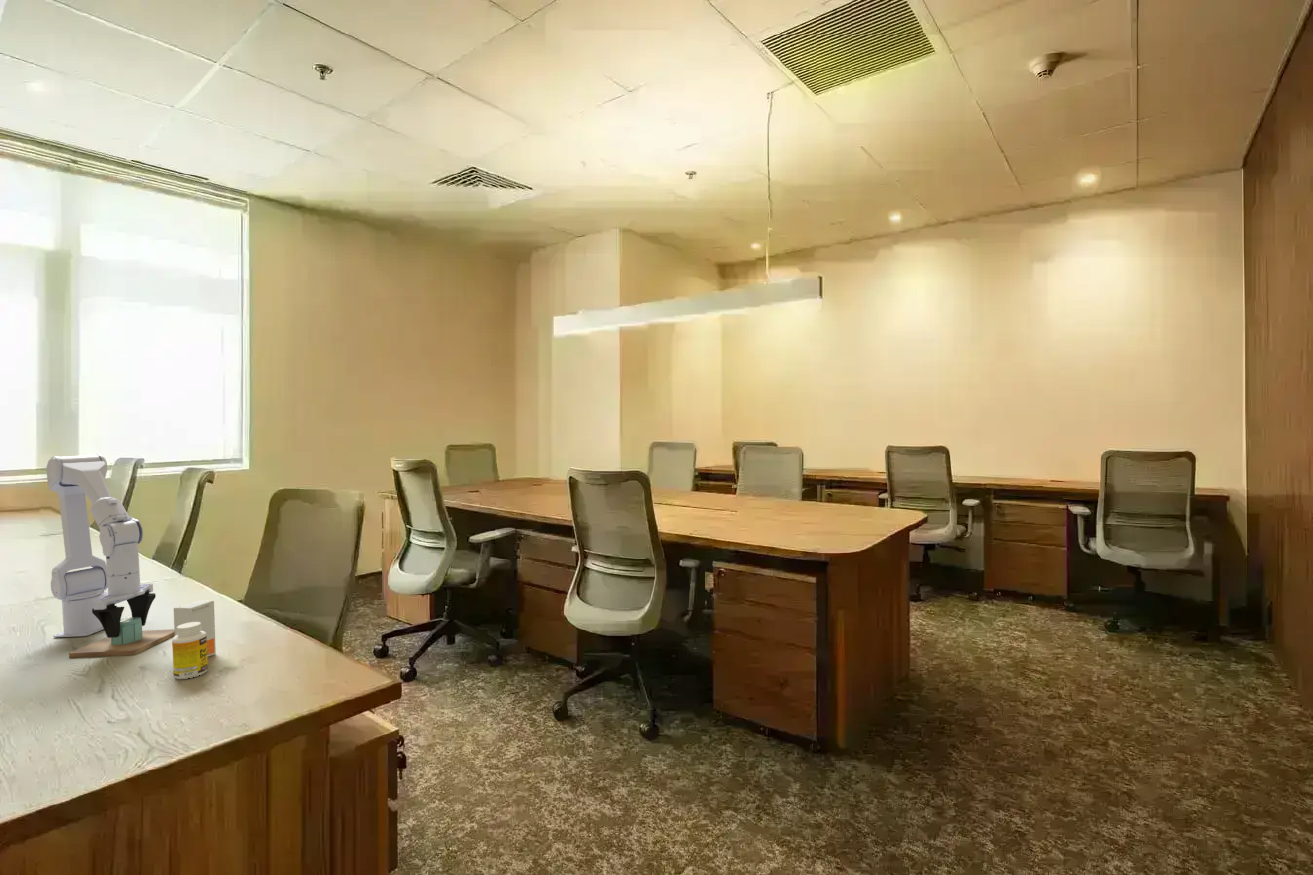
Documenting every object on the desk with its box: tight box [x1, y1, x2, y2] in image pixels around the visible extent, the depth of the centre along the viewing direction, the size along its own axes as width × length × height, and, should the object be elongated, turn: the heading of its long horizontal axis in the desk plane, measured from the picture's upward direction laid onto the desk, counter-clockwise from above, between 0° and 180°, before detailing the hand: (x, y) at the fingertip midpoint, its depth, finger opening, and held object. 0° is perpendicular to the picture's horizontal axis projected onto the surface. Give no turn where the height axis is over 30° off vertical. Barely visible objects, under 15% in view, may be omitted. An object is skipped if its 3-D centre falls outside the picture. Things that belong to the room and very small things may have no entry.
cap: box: [111, 616, 143, 645], centre depth 144 cm, size 5×5×5 cm
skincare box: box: [173, 599, 217, 658], centre depth 134 cm, size 6×4×12 cm
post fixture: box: [68, 628, 175, 659], centre depth 144 cm, size 14×14×4 cm
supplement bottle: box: [171, 622, 209, 680], centre depth 126 cm, size 6×6×10 cm
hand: (126, 631), depth 144 cm, fingers open, 7 cm apart
